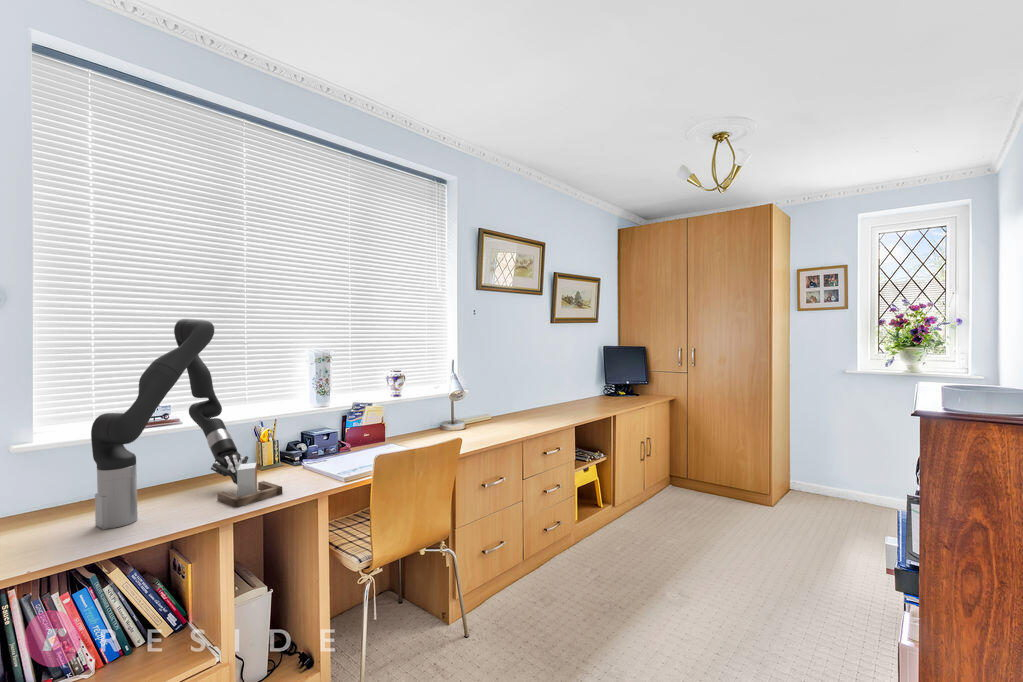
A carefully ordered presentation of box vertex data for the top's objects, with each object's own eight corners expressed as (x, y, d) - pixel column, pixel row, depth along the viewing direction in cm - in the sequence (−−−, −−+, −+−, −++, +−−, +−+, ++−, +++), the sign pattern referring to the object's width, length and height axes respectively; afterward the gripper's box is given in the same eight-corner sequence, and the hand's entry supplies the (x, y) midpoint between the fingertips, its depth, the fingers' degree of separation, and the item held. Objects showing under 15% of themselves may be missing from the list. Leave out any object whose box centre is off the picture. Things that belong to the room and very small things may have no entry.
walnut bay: (236, 507, 158) (235, 500, 158) (217, 500, 164) (217, 493, 164) (282, 493, 171) (282, 486, 171) (263, 487, 178) (263, 480, 178)
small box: (255, 498, 167) (255, 467, 166) (237, 500, 164) (236, 469, 164) (257, 491, 174) (257, 462, 174) (240, 493, 172) (239, 463, 171)
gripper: (205, 441, 171) (223, 481, 165) (243, 434, 182) (261, 472, 176) (198, 454, 174) (216, 494, 168) (236, 446, 185) (253, 483, 179)
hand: (239, 482), depth 172 cm, fingers closed
